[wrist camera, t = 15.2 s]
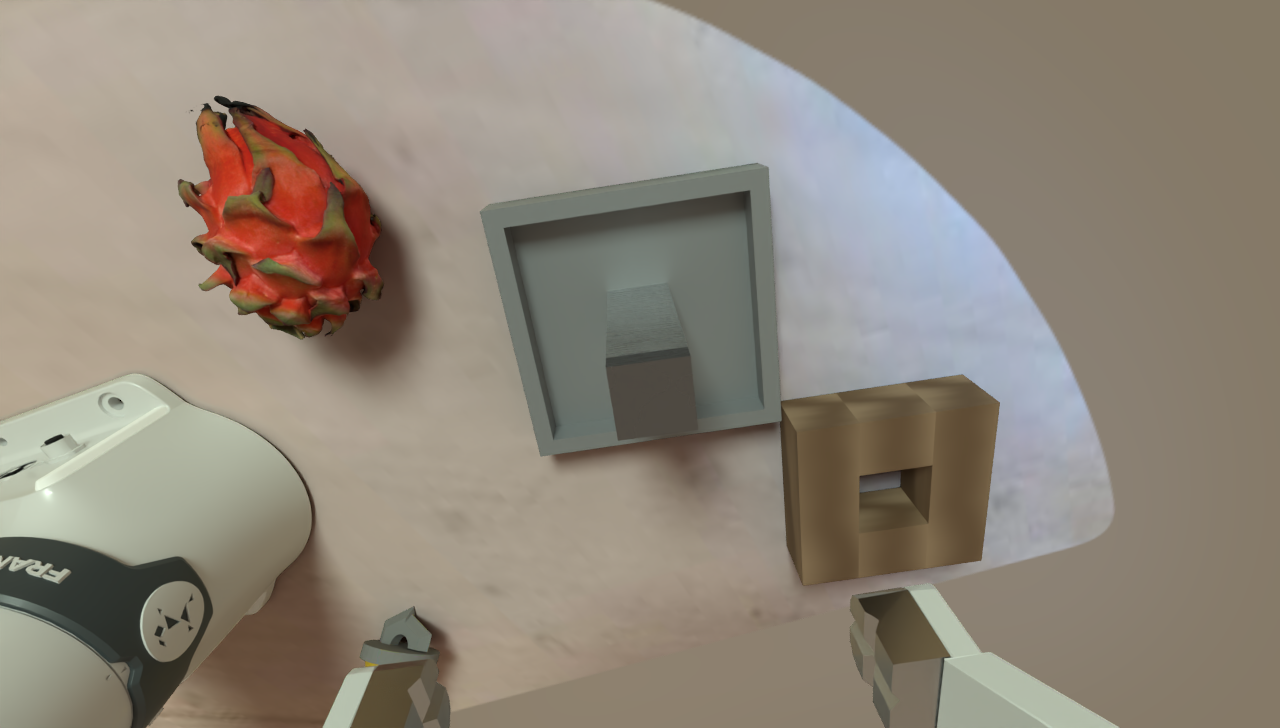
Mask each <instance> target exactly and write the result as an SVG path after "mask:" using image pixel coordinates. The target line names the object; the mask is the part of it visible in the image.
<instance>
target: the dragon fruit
mask: <svg viewBox="0 0 1280 728" xmlns="http://www.w3.org/2000/svg"><path fill="white" fill-rule="evenodd" d="M214 100H215V101H216V102H218V103H219V104H221V105H223V106H225V107H227V108H230V109H229V113H230V114H231V115H232V117H233V124H234V125H235V128H228V129H226V130H225V128H226V121H227V115H226V114H225V113H220V112H213V111H212V109H211V107H210V105H209V104H208V103H206V104H203V105H204V108H203V109H202V110H200V111H202V112H201V114H200V116H199V118H198V120H197V122H196V126H197V135H198V139H199V142H200V144H201V147H202V150H203V155H204V161H205V163H206V166H207V167H208V169H209V173H210V177H211V179H210V180H209V181H204V182H201V183H199V184H197V185H195V186H194V184H193V183H191V182H186V181H184V180H182V179H180V180H179V181H178V190H179V195H180V197H181V198H182V199H183V202H184V204H185V205H186V207H189V205H190V206H191V207H192V208H193V209H195V210H196V211H197V212H198V213H199V214H200V215H201V216H202V217H203V219H204V221H205V223H206V225H207V227H208V230H209V232H208V233H207V234H204V235H199V236H197V237H195V238H194V239H193V240H192V241H191V243H192V245H193V246H194V247H196V248H197V250H198V252H199V253H200V254H202V255H204V256H205V258H206V259H207V260H209V261H210V262H212V263H214V264H216V265H219V264H220V267H219V268H218V270H217V271H216V272H215V273H213V274H212V275H211V276H210V277H209V278H208V279H207V280H206V281H205V282H204V283H202V284H199V287H200V288H201V289H202V290H203V291H209V290H211V289H213V288H215V287H216V286H218V285H222V284H224V285H226V286H228V287H229V288H231V289H232V290H231V291H230V294H229V297H230V300H231V301H232V302H233V303H234V304H235V305H236V306H237V307H238V314H239V315H247V314H250V313H254V312H256V313H257V314H258V315H259V316H260V317H261V318H262V319H263V320H264V321H265V322H266V323H267V324H268V325H269V327H270V328H271V329H276V330H281V331H284V332H286V333H289V334H291V335H293V336H295V337H297V338H299V339H303V338H305V337H312V336H315V335H317V334H319V333H320V332H321V330H322V325H323V323H324V319H326V320H328V321H329V322H330V323H331V324H332V329H331V331H330V332H328V333H327V334H326V335H328V334H333V333H334V332H335V331H337V330H338V329H340V328H341V327H342V326H343V324H344V321H345V320H346V314H347V315H348V314H349V312H356V311H358V310H359V308H360V304H361V301H362V295H364V296H365V297H366V298H368V299H371V300H379V299H380V298H381V294H382V293H381V291H382V288H383V286H384V283H383V281H382V279H381V277H380V276H379V275H378V271H377V269H376V268H374V267H373V266H372V265H371V264H370V261H369V259H368V258H369V256H370V252H371V249H372V247H373V245H374V242H375V240H376V239H377V238H378V237H379V236H380V233H381V222H380V221H379V219H378V217H377V216H376V215H375V214H374V215H371V214H370V205H369V199H368V197H367V195H366V193H365V192H364V190H363V189H362V188H361V186H360V185H359V184H358V183H357V182H356V181H355V180H354V179H353V178H351V177H350V176H349V175H348V173H347V172H346V171H345V170H344V169H343V168H342V167H341V166H340V165H339V164H338V163H337V162H336V161H335V160H334V158H333V157H332V155H330V154H328V153H327V152H326V151H325V150H324V149H323V146H322V145H321V143H320V142H319V141H318V140H317V139H316V137H315V136H314V135H313V133H311V132H310V131H308V130H307V129H305V130H303V131H304V132H305V134H306V135H305V134H303V133H302V132H300V131H298V130H296V129H293V128H291V127H289V126H287V125H285V124H283V123H282V122H280V121H278V120H277V119H275V118H274V117H272V116H271V115H270V114H268V113H267V112H265V111H264V110H262V109H261V108H259V107H257V106H254V105H250V104H247V103H244V102H239V101H233V102H231V101H230V100H229V99H227V98H225V97H222V96H215V97H214ZM191 111H192V110H191ZM200 194H201V196H199V195H200ZM362 289H364V291H363V292H362V295H361V293H360V291H361V290H362ZM303 332H304V334H305V335H306V336H305V335H304V334H303ZM326 335H325V336H326ZM331 336H332V335H331Z"/></svg>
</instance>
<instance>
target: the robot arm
mask: <svg viewBox="0 0 1280 728" xmlns="http://www.w3.org/2000/svg"><path fill="white" fill-rule="evenodd" d="M118 398H119V399H120V400H121V401H122V402H123V403H122V402H120V401H119V399H118ZM311 523H312V513H311V506H310V501H309V498H308V495H307V492H306V489H305V487H304V485H303V483H302V481H301V479H300V478H299V476H298V474H297V473H296V471H295V470H294V468H293V467H292V466H291V464H290V463H289V462H288V461H287V460H286V458H285V457H284V456H283V455H282V454H281V453H280V452H279V451H278V450H277V449H276V448H274V447H273V446H272V445H271V444H270V443H269V442H267V441H266V440H265V439H263V438H262V437H261V436H259V435H258V434H256V433H255V432H253V431H252V430H250V429H248V428H247V427H245V426H243V425H241V424H239V423H237V422H235V421H233V420H231V419H228V418H226V417H223V416H221V415H218V414H215V413H212V412H209V411H206V410H203V409H201V408H198V407H196V406H193V405H191V404H189V403H187V402H185V401H184V400H182V399H181V398H180V397H178V396H177V395H176V394H174V393H173V392H171V391H170V390H169V389H167V388H166V387H164V386H163V385H161V384H160V383H158V382H157V381H155V380H153V379H151V378H149V377H147V376H145V375H141V374H129V375H126V376H123V377H120V378H117V379H115V380H112V381H109V382H106V383H104V384H101V385H98V386H96V387H93V388H90V389H87V390H85V391H82V392H79V393H77V394H74V395H71V396H68V397H66V398H63V399H60V400H57V401H55V402H52V403H49V404H47V405H44V406H41V407H38V408H36V409H33V410H30V411H28V412H25V413H22V414H19V415H17V416H14V417H11V418H9V419H6V420H3V421H0V728H146V727H147V725H149V726H150V725H151V724H152V722H153V721H154V720H155V719H156V717H157V716H158V715H159V714H160V713H161V711H162V710H163V709H164V708H163V706H164V704H165V703H166V702H167V700H168V699H169V698H170V696H171V695H172V694H173V692H174V691H175V690H176V688H177V687H178V686H179V684H181V683H182V682H184V681H185V680H186V679H187V678H189V677H190V676H191V674H192V673H193V672H194V671H195V670H196V669H197V668H198V667H199V666H200V665H201V663H202V662H203V661H204V660H205V659H206V658H207V657H208V656H209V655H210V653H211V652H212V651H213V650H214V649H215V648H216V647H217V646H218V645H219V643H220V642H221V641H222V640H223V639H224V638H225V637H226V636H227V634H228V633H229V632H230V631H231V630H232V629H233V628H234V627H235V625H236V624H237V623H238V622H239V621H240V620H241V619H242V617H243V616H244V615H252V614H255V613H257V612H258V611H259V610H260V609H261V608H262V607H263V606H264V605H265V604H266V602H267V601H268V600H269V598H270V596H271V594H272V591H273V588H274V585H275V581H276V578H277V577H278V576H279V575H280V574H281V573H282V572H283V571H284V570H285V569H286V568H287V567H288V566H289V565H290V564H291V563H292V562H293V561H294V560H295V559H296V558H297V557H298V556H299V555H300V553H301V552H302V550H303V549H304V547H305V545H306V543H307V541H308V538H309V535H310V531H311ZM850 611H851V613H852V615H853V617H854V619H855V622H854V623H853V624H852V625H851V626H850V643H851V647H852V653H853V657H854V660H855V662H856V665H857V668H858V670H859V672H860V675H861V677H862V679H863V680H864V681H865V682H867V683H868V684H870V685H871V686H872V687H873V703H874V705H875V707H876V709H877V711H878V713H879V716H880V718H881V720H882V722H883V724H884V726H885V728H1119V727H1117V726H1116V725H1114V724H1112V723H1111V722H1109V721H1107V720H1105V719H1104V718H1102V717H1100V716H1099V715H1097V714H1095V713H1093V712H1091V711H1090V710H1088V709H1087V708H1085V707H1083V706H1082V705H1080V704H1078V703H1077V702H1075V701H1073V700H1071V699H1070V698H1068V697H1066V696H1065V695H1063V694H1061V693H1059V692H1057V691H1056V690H1054V689H1053V688H1051V687H1049V686H1048V685H1046V684H1044V683H1042V682H1041V681H1039V680H1037V679H1036V678H1034V677H1032V676H1030V675H1029V674H1027V673H1025V672H1024V671H1022V670H1020V669H1019V668H1017V667H1015V666H1013V665H1012V664H1010V663H1008V662H1007V661H1005V660H1003V659H1001V658H1000V657H998V656H996V655H995V654H993V653H991V652H986V653H982V652H981V650H980V649H979V648H978V646H977V645H976V643H975V642H974V641H973V639H972V638H971V637H970V635H969V634H968V632H967V631H966V629H965V628H964V627H963V625H962V624H961V623H960V621H959V620H958V618H957V617H956V616H955V614H954V613H953V611H952V610H951V609H950V607H949V606H948V604H947V603H946V602H945V600H944V599H943V597H942V596H941V595H940V593H939V592H938V591H937V589H936V588H935V587H934V586H933V585H931V584H930V583H928V584H922V585H915V586H909V587H904V588H901V587H900V588H894V589H888V590H882V591H876V592H869V593H863V594H857V595H852V598H851V600H850ZM438 674H439V670H438V667H437V665H436V663H435V661H434V659H424V660H416V661H407V662H399V663H391V664H383V665H377V666H369V667H362V668H354V669H352V670H351V671H350V672H349V673H348V675H347V676H346V677H345V679H344V681H343V684H342V686H341V688H340V690H339V692H338V695H337V697H336V699H335V701H334V703H333V706H332V708H331V710H330V712H329V714H328V717H327V719H326V721H325V723H324V725H323V728H449V726H450V702H449V696H448V693H447V691H446V688H445V687H444V686H442V685H441V684H439V683H437V682H436V681H437V677H438Z"/></svg>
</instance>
